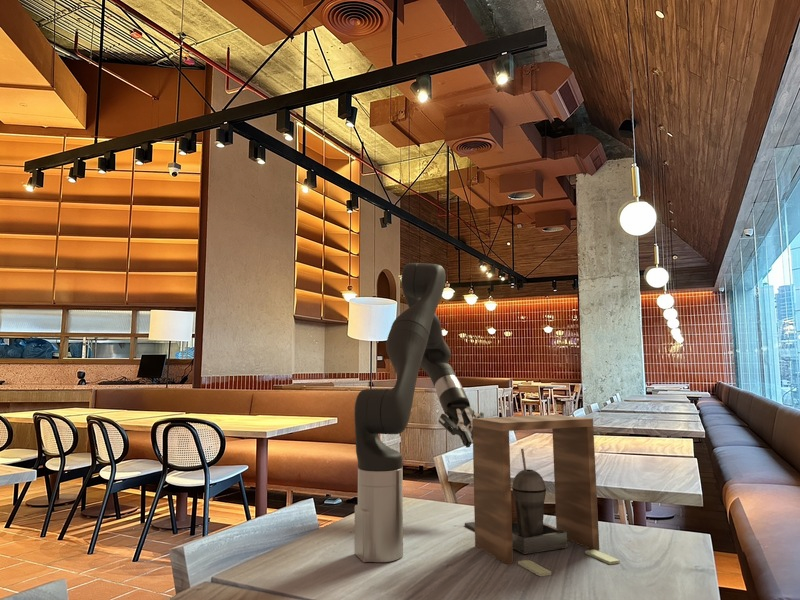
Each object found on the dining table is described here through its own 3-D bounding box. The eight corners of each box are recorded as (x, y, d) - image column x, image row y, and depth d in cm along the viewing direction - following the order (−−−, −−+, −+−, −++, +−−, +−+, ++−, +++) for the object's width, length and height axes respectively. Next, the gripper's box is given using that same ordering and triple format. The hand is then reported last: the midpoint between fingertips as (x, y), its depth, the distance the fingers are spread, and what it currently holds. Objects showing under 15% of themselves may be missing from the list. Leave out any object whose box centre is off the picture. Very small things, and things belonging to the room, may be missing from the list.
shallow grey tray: (524, 554, 111) (522, 502, 112) (491, 536, 123) (490, 490, 124) (567, 547, 115) (565, 497, 116) (531, 531, 126) (530, 486, 128)
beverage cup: (552, 550, 114) (548, 451, 117) (517, 550, 114) (513, 451, 117) (544, 539, 121) (540, 446, 124) (510, 539, 121) (507, 446, 124)
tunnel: (506, 563, 106) (501, 423, 110) (475, 545, 117) (472, 418, 121) (599, 549, 115) (592, 418, 118) (562, 533, 126) (557, 414, 129)
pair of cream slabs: (540, 576, 100) (540, 573, 100) (518, 564, 106) (518, 561, 106) (619, 562, 106) (619, 560, 106) (594, 552, 113) (594, 549, 113)
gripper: (432, 386, 150) (454, 437, 137) (477, 385, 155) (502, 434, 142) (425, 405, 154) (445, 456, 142) (468, 403, 160) (492, 452, 147)
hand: (473, 445), depth 142 cm, fingers closed
